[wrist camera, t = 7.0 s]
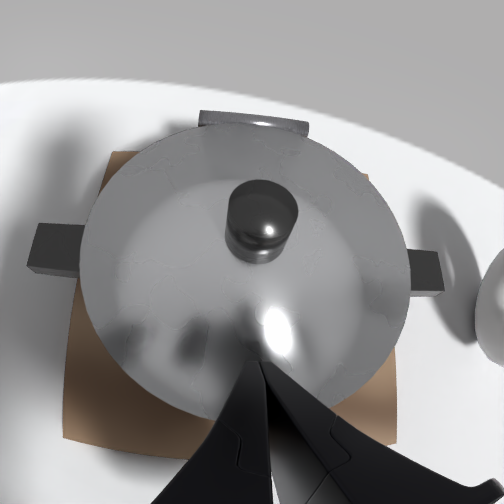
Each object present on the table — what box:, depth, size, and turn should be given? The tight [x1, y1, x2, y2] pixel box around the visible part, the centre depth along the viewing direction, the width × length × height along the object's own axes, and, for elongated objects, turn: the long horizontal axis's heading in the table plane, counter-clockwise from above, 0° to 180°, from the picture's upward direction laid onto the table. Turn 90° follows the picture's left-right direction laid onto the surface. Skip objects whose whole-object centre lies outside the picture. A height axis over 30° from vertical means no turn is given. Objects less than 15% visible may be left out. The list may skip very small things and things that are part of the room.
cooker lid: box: [79, 110, 411, 421], centre depth 12 cm, size 15×14×3 cm
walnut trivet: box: [63, 152, 397, 460], centre depth 19 cm, size 20×20×1 cm
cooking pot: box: [27, 223, 445, 297], centre depth 16 cm, size 14×22×5 cm, turn 89°
